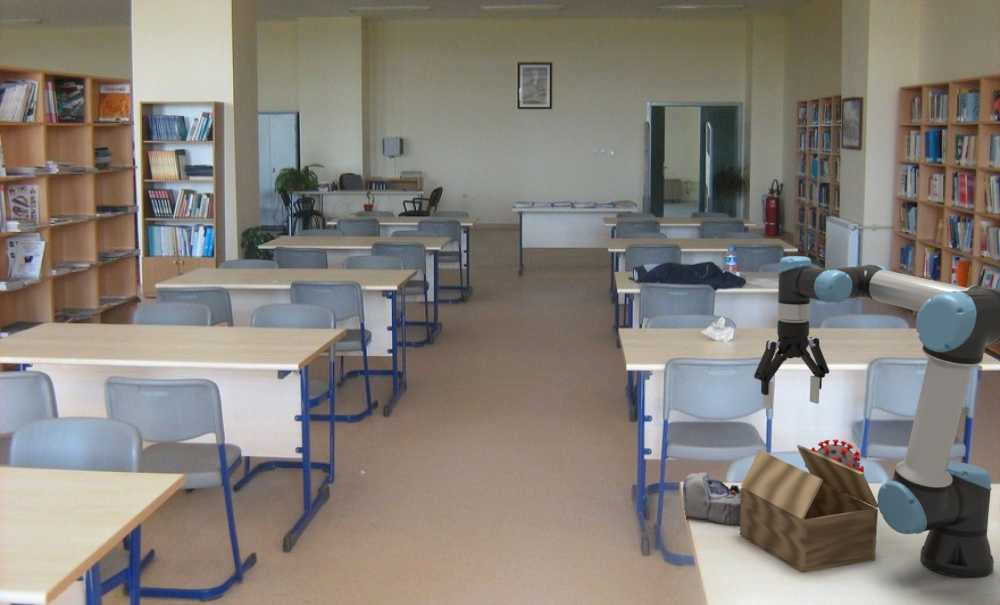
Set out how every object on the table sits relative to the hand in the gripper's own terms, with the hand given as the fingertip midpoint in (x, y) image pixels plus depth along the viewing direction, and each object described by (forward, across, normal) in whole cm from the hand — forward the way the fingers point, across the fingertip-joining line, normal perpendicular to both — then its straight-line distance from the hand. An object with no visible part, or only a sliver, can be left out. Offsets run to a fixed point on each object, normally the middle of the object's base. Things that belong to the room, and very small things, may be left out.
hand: (791, 405), depth 271 cm
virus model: (+29, -22, -11) cm, 38 cm away
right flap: (+13, 0, +18) cm, 22 cm away
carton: (+29, +8, +18) cm, 35 cm away
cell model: (+29, +15, -6) cm, 33 cm away
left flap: (+13, +15, +18) cm, 27 cm away
